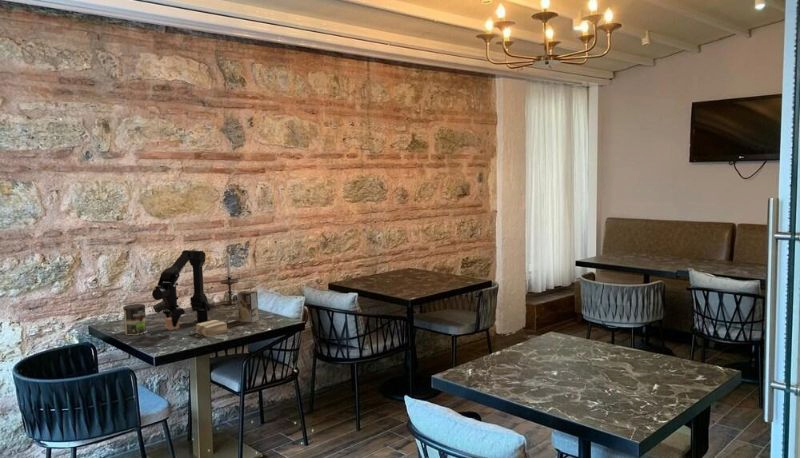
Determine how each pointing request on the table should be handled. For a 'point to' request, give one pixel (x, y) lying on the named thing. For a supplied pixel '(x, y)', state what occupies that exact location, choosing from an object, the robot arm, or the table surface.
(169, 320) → the cube
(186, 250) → the robot arm
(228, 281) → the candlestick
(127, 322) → the coffee can
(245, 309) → the coffee box
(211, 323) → the base block
